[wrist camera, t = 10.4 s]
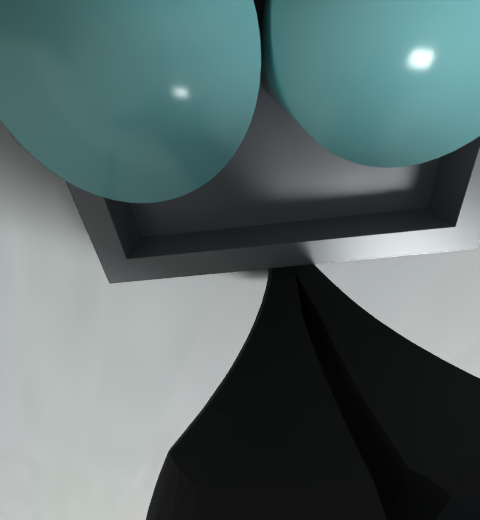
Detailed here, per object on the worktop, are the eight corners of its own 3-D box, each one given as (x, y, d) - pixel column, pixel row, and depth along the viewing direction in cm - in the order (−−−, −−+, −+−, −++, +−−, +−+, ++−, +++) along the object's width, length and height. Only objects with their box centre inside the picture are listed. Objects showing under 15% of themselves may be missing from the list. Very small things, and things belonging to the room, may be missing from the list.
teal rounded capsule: (225, -66, 6) (202, -264, 2) (265, 118, 8) (287, 167, 4) (71, -2, 7) (-138, -83, 3) (144, 156, 9) (72, 227, 5)
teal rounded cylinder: (436, 38, 7) (651, 7, 3) (316, 150, 8) (376, 214, 5) (351, -125, 6) (558, -480, 2) (224, 41, 7) (208, 13, 3)
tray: (597, -422, 5) (837, -752, 3) (433, 218, 10) (476, 248, 9) (-56, -285, 5) (-218, -482, 3) (131, 248, 11) (109, 283, 9)
